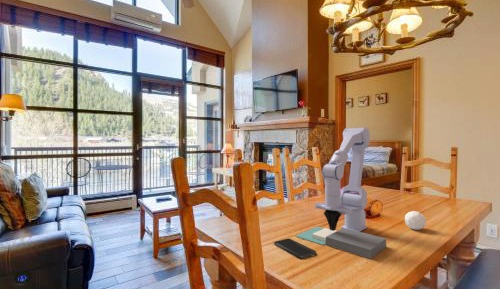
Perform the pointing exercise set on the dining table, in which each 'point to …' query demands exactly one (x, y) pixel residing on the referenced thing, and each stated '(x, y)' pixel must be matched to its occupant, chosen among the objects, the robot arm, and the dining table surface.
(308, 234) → the mat
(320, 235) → the tile
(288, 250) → the phone
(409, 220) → the geometric ball
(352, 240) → the block
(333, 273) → the dining table surface
